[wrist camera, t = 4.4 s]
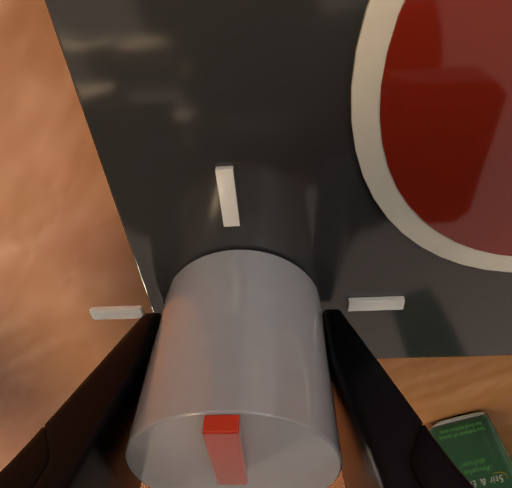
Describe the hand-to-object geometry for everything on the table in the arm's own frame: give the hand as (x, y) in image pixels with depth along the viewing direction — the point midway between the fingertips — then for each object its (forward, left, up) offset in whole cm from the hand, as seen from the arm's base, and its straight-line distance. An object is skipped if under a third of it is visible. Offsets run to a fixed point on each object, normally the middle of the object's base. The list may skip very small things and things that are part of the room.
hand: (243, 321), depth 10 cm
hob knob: (0, 0, 0) cm, 0 cm away
